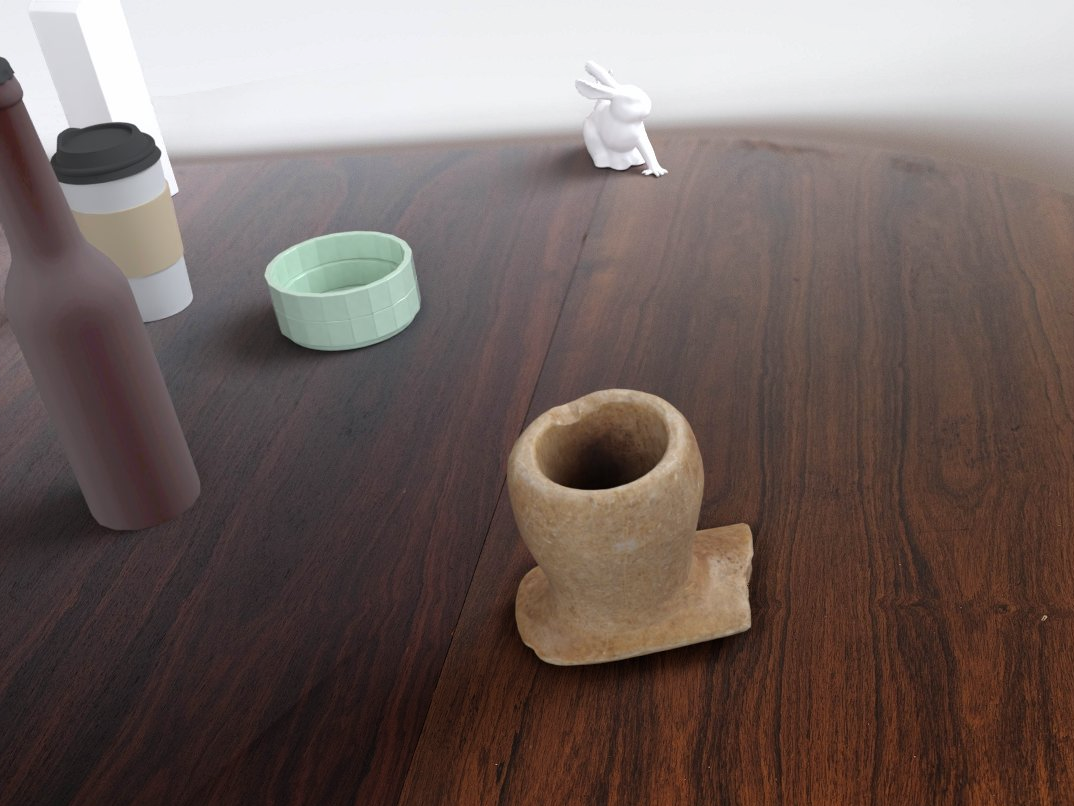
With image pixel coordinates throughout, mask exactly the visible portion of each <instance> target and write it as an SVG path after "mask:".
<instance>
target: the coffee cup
mask: <svg viewBox="0 0 1074 806" xmlns="http://www.w3.org/2000/svg"><path fill="white" fill-rule="evenodd" d="M160 157H161V150H160V149H159V148H158V147H157V146H156V144H155V140H154V138H153V137H151V136H150V135H149V134H147V133H144V132H141V131H140V130H139V129H138V128H137V126H135V125H134V124H131V123H126V122H110V123H102V124H96V125H92V126H88V127H85V128H81V129H80V128H70V127H68V128H66V129H63V130H61V132H59V133H58V135H57V137H56V151H55V153H54V154H53V155H52V156H51V157H50V159H49V161H50V163H51V166H52V168H53V170H54V173H55V175H56V177H57V179H58V182H59V184H60V186H61V188H62V191H63V193H64V195H65V198H66V200H67V202H68V204H69V207H70V209H71V211H72V214H73V216H74V218H75V220H76V223H77V225H78V227H79V229H80V231H81V233H82V234H83V236H84V237H85V239H86V240H87V241H88V242H89V243H90V244H91V245H93V246H94V247H95V248H97V249H98V250H100V251H101V252H102V253H104V254H105V255H106V256H107V257H108V258H110V259H111V260H112V261H113V262H114V263H115V264H116V265H117V266H118V267H119V268H120V270H121V271H122V272H123V274H124V275H125V277H126V278H127V280H128V282H129V284H130V287H131V289H132V292H133V294H134V297H135V300H136V303H137V306H138V308H139V311H140V314H141V317H142V320H143V322H144V323H149V322H156V321H160V320H164V319H166V318H170V317H172V316H174V315H176V314H177V315H178V314H179V313H181V312H182V311H183V310H185V309H186V308H187V307H189V306H190V305H191V303H192V302H193V299H194V294H193V291H192V287H191V282H190V278H189V273H188V269H187V266H186V265H187V264H186V261H185V257H184V252H185V249H184V246H183V245H184V244H183V241H182V236H181V232H180V228H179V227H180V226H179V223H178V219H177V215H176V211H175V206H174V202H173V198H172V197H173V196H172V197H171V192H170V188H169V184H168V181H167V180H166V179H165V177H164V172H163V168H162V164H161V160H160Z"/></svg>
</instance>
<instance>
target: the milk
mask: <svg viewBox="0 0 1074 806" xmlns="http://www.w3.org/2000/svg"><path fill="white" fill-rule="evenodd" d="M27 13H28V16H29V18H30V21H31V24H32V26H33V30H34V32H35V34H36V37H37V41H38V43H39V46H40V49H41V52H42V55H43V58H44V60H45V63H46V66H47V69H48V71H49V74H50V77H51V80H52V83H53V85H54V89H55V91H56V94H57V96H58V99H59V102H60V105H61V109H62V110H63V114H64V116H65V119H66V121H67V124H68V128H80V129H81V128H85V127H88V126H92V125H96V124H102V123H110V122H126V123H131V124H134V125H135V126H137V128H138V129H139V130H140V131H141V132H144V133H147V134H149V135H150V136H151V137H153V138H154V140H155V144H156V146H157V147H158V148H159V149H160V150H161V157H160V160H161V164H162V168H163V172H164V177H165V179H166V180H167V181H168V184H169V188H170V192H171V197H173V196H175V195H177V194H179V191H180V189H179V187H178V184H177V181H176V177H175V174H174V171H173V168H172V164H171V162H170V158H169V155H168V151H167V148H166V145H165V143H164V138H163V136H162V132H161V130H160V129H161V128H160V126H159V122H158V120H157V117H156V113H155V110H154V106H153V104H152V100H151V97H150V93H149V91H148V87H147V84H146V81H145V78H144V75H143V71H142V68H141V64H140V62H139V59H138V55H137V51H136V49H135V46H134V42H133V39H132V36H131V32H130V29H129V26H128V24H127V19H126V17H125V13H124V10H123V7H122V4H121V1H120V0H31V2H30V4H29V6H28V8H27Z"/></svg>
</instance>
